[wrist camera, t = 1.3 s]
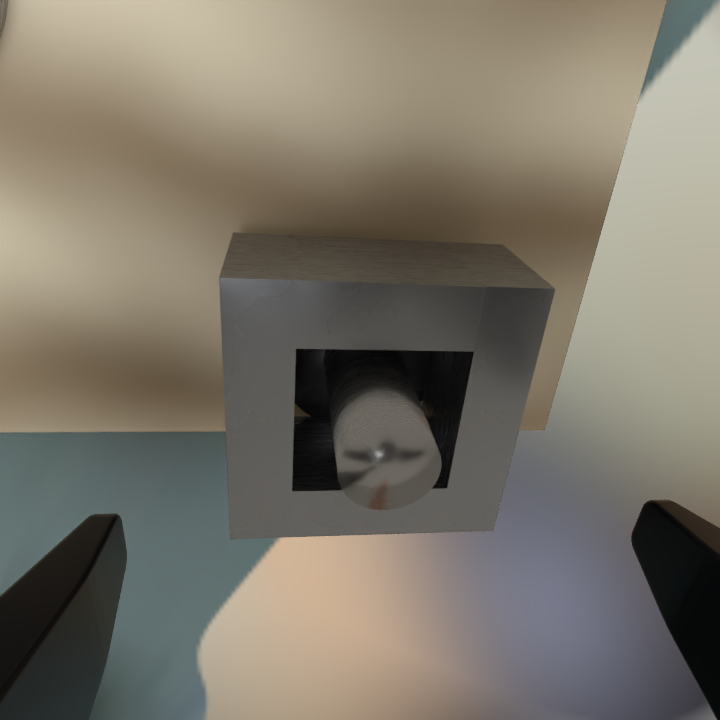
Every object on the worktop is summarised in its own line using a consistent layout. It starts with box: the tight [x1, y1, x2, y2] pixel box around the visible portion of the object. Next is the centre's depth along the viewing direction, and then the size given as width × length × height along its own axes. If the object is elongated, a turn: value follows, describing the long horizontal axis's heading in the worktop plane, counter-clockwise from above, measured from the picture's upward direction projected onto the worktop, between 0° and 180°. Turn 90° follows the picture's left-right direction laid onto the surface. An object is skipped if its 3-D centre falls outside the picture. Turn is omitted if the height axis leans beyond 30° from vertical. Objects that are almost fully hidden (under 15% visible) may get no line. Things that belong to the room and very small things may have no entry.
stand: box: [294, 349, 442, 510], centre depth 13 cm, size 4×4×6 cm
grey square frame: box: [219, 232, 555, 539], centre depth 13 cm, size 6×6×3 cm
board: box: [0, 0, 667, 432], centre depth 13 cm, size 15×27×1 cm, turn 85°
